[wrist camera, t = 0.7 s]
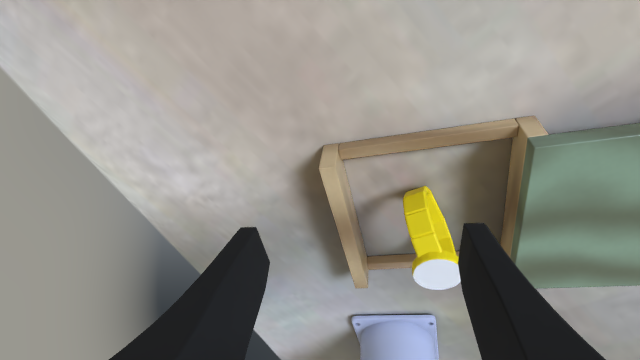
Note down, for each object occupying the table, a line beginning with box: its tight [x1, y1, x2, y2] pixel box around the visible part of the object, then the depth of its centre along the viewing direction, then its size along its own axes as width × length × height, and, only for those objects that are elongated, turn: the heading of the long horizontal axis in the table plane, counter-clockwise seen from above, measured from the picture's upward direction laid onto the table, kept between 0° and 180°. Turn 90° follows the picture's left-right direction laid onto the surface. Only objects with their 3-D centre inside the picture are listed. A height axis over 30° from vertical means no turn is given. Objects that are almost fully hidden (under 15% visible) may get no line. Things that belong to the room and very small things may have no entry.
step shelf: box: [319, 116, 640, 289], centre depth 21 cm, size 12×20×3 cm, turn 104°
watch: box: [403, 186, 461, 290], centre depth 21 cm, size 6×3×6 cm, turn 31°
